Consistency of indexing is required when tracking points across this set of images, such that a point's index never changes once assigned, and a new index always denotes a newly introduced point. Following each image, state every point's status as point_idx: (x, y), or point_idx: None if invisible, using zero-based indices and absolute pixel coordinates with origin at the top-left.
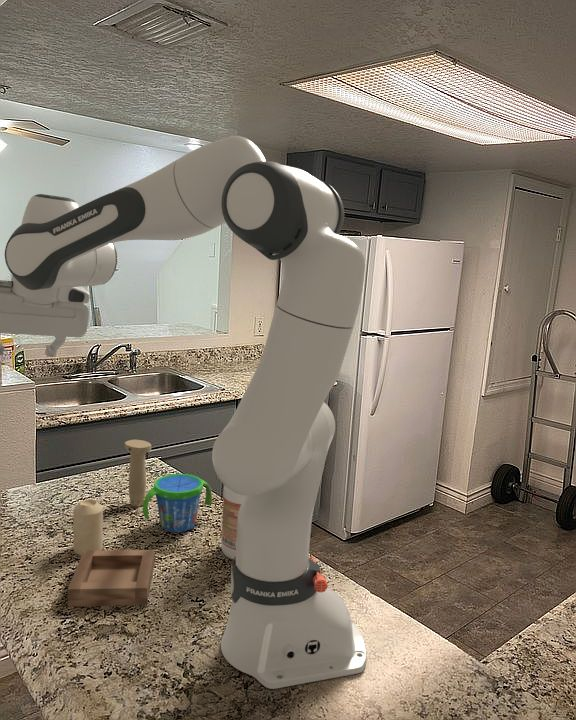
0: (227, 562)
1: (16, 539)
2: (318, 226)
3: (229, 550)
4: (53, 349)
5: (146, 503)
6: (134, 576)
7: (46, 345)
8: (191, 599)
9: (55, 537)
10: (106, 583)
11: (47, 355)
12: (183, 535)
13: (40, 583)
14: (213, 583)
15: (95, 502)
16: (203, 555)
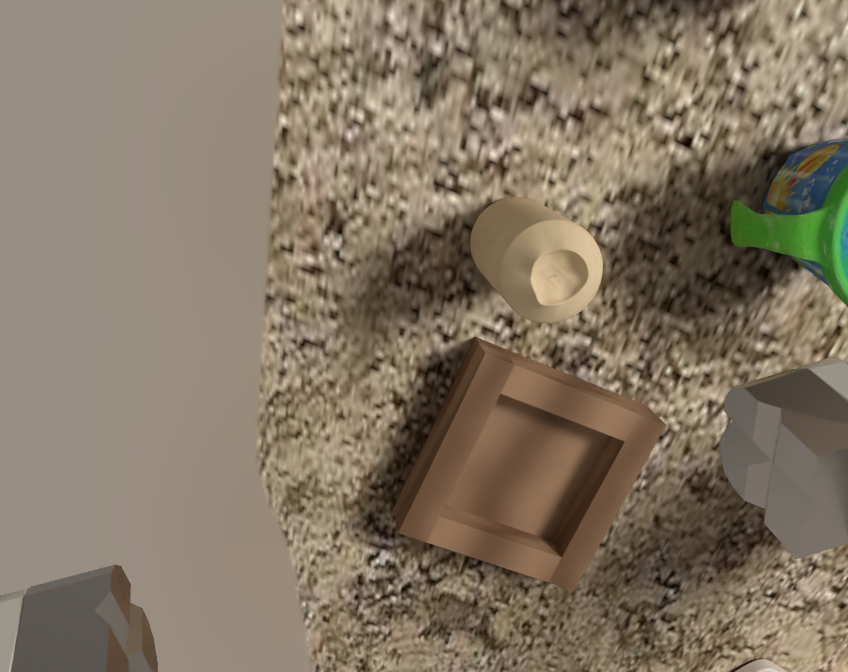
0: None
1: (312, 70)
2: None
3: None
4: (843, 538)
5: (759, 243)
6: (574, 474)
7: (814, 459)
8: (657, 575)
9: (436, 112)
10: (492, 540)
11: (729, 466)
12: (796, 270)
13: (348, 380)
14: (733, 534)
15: (585, 273)
16: None
